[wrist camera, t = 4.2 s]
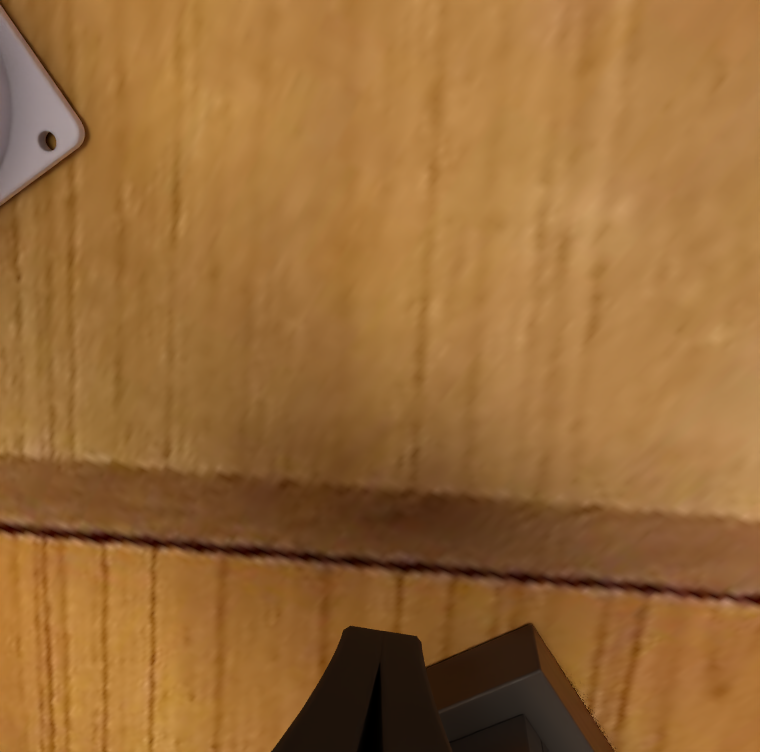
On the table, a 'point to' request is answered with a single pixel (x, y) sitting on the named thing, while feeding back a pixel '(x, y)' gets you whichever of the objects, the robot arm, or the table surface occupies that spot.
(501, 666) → the stepped square riser
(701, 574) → the table surface
